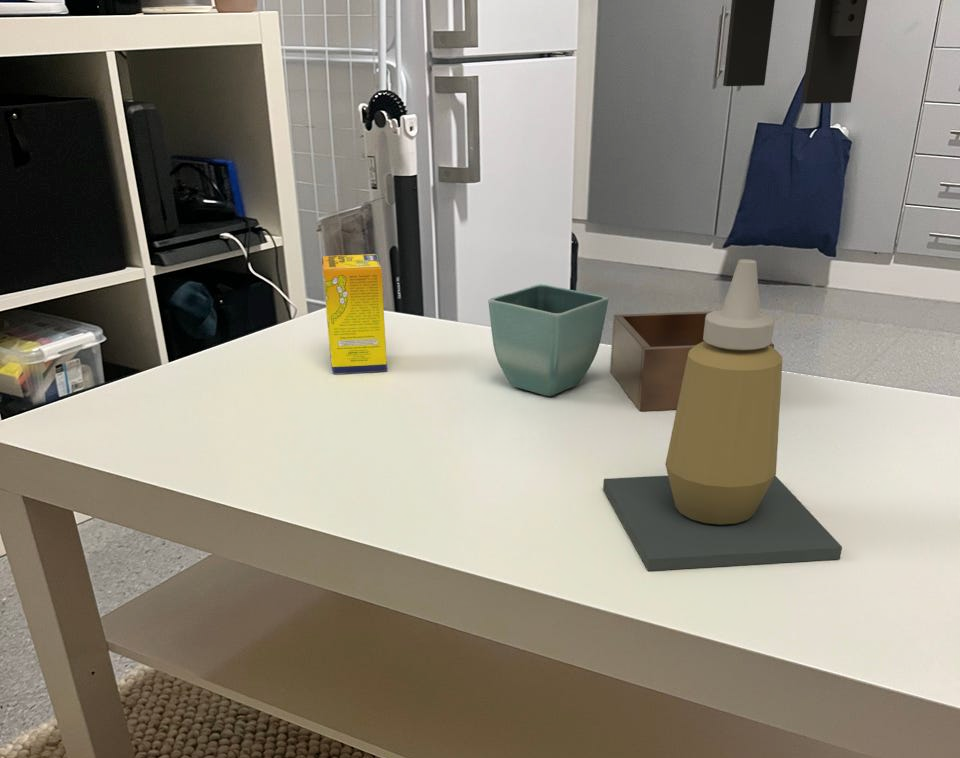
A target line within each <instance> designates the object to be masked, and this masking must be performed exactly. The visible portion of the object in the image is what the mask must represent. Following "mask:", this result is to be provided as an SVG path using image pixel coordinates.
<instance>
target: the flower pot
mask: <svg viewBox="0 0 960 758" xmlns="http://www.w3.org/2000/svg"><path fill="white" fill-rule="evenodd" d="M487 302H488V311H489V321H490V330H491V331H490V332H491V338H492V343H493V344H492V345H493V351H494V354H495V357H496V360H497V362H498V365H499V367H500V369H501V371H502V372H503V373H502V374H503V375H504V376H505V378H506V380H507V381H508V382H509V383H510V385H511V387H514V388H516V389H521V390H524V391H529V392H531V393H535V394H538V395H543V396H546V397H552V396H555V395H558V394H559V393H562V392H563V391H566V390H569V389H571V388H574V387H577V386H578V385H579V384H580V382H581V381H582V379H584V377H585V376H586V374H587V373H588V371H589V369H590V368H591V366H592V364H593V362H594V360H595V358H596V355H597V353H598V350H599V347H600V344H601V340H602V335H603V331H604V330H603V329H604V325H605V320H606V316H607V310H608V304H609V297H608V296H604V295H600V294H594V293H589V292H583V291H579V290H575V289H569V288H564V287H559V286H554V285H549V284H542V283H540V284H535V285H531V286H528V287H524V288H522V289H518V290H515V291H512V292H509V293H505V294H501V295H497V296H493V297H492V298H490V299H488V300H487Z"/></svg>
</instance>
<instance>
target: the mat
mask: <svg viewBox="0 0 960 758" xmlns="http://www.w3.org/2000/svg"><path fill="white" fill-rule="evenodd" d="M602 485H603V486H602V490H603V492H604V494H605V495H606V497H607V499H608V501H609V503H610V505H611V506H612V508H613V510H614V512H615V514H616V515H617V517H618V519H619V522H620V523H621V525H622V526H623V528H624V530H625V532H626V533H627V536H628V537H629V539H630V541H631V542H632V544H633V546H634V548H635V550H636V551H637V553H638V555H639V556H640V559H641V560H642V563H643V564H644V566H645V568H646V570H647V571H648V572H653V571H670V570H685V569H686V570H687V569H703V568H717V567H718V568H719V567H732V566H733V567H735V566H736V567H737V566H750V565H751V566H752V565H768V564H769V565H770V564H781V563H782V564H783V563H797V562H798V563H800V562H814V561H833V560H840V559H841V556H842V551H843V546H842V545H841V543H840V542H839V541H838V540H837V539H835V538H834V536H833V535H832V534H831V533H830V532H829V531H828V530H827V528H825V527H824V526H823V525H822V524H821V523H820V521H819V520H818V519H817V518H816V517H815V516H814V515H813V514H812V513H811V512H810V511H809V510H808V508H807V507H806V506H804V504H803V503H802V502H801V501H800V500H799V499H798V497H796V496H795V495H794V494H793V493H792V491H791V490H790V489H789V488H788V487H787V486H786V485H785V484H784V482H782V481H781V480H780V479H779V477H777V476H776V475H775V477H774V479H773V480H772V482H771V484H770V486H769V488H768V490H767V492H766V493H765V495H764V497H763V499H762V501H761V503H760V504H759V506H758V508H757V510H756V512H755V514H754V515H753V516H752V517H751V518H749V519H748V520H746V521H743V522H739V523H736V524H722V525H720V524H710V523H703V522H700V521H696V520H693V519H690V518H688V517H686V516H684V515H683V514H681V513H680V512H679V511H678V509H677V508H676V506H675V502H674V498H673V494H672V490H671V486H670V482H669V477H668V474H667V475H651V476H650V475H649V476H635V477H634V476H632V477H631V476H630V477H629V476H628V477H612V478H604V479H603V484H602Z"/></svg>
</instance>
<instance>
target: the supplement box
mask: <svg viewBox="0 0 960 758" xmlns="http://www.w3.org/2000/svg"><path fill="white" fill-rule="evenodd" d="M321 266H322V268H321V269H322V278H323V279H322V280H323V289H324V299H325V302H324V303H325V310H326V311H325V312H326V321H327V334H328V343H329V344H328V345H329V346H328V347H329V356H330V361H331V370H332V371H331V372H332V374H333V375H345V374H346V375H347V374H363V373H365V374H366V373H379V372H387V371H388V361H387V346H386V345H387V344H386V340H387V339H386V326H385V325H386V324H385V311H384V310H385V307H384V305H385V304H384V285H383V267H382V266H381V264H380V261H379V256H378V255H377V254H376V253H368V254H346V255H345V254H344V255H343V254H342V255H341V254H340V255H326V256H325V255H323V256H322V257H321Z"/></svg>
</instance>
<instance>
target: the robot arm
mask: <svg viewBox="0 0 960 758" xmlns="http://www.w3.org/2000/svg"><path fill="white" fill-rule="evenodd" d="M775 3H776V0H731V5H730V15H729V24H728V25H729V26H728V34H727V44H726V52H725V53H726V54H725V62H724V71H723V82H722V83H723V84H722V86H723V87H757V86H759V87H760V86H765V83H766V78H767V77H766V75H767V67H768V60H769V51H770V43H771V37H772V36H771V35H772V26H773V19H774V11H775ZM867 6H868V0H814V6H813V7H814V8H813V13H812V21H811V29H810V34H809V35H810V36H809V41H808V42H809V43H808V50H807V56H806V64H805V69H804V79H803V85H802V92H801V100H800V103H801V104H806V105H807V104H808V105H809V104H811V105H812V104H813V105H815V104H847V103H850V104H851V103H852V98H853V91H854V85H855V79H856V73H857V67H858V62H859V55H860V49H861V43H862V36H863V32H864V31H863V30H864V24H865V20H866V19H865V18H866V13H867Z"/></svg>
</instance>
